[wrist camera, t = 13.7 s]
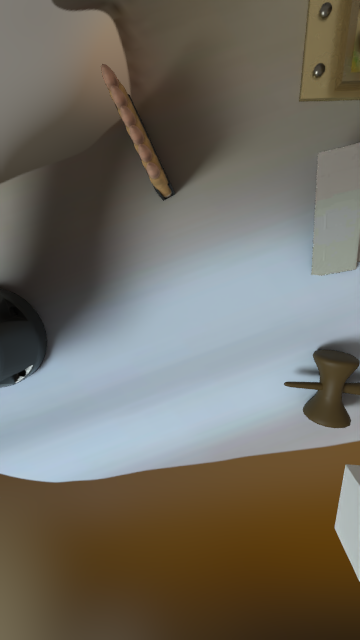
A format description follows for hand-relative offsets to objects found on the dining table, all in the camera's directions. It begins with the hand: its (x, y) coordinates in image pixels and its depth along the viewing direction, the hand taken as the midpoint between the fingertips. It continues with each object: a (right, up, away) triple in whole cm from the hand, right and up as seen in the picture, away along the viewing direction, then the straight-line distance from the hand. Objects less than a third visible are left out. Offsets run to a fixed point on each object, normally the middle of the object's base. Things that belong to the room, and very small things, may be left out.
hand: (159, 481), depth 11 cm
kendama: (+25, -3, +32) cm, 41 cm away
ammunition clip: (-3, +27, +27) cm, 38 cm away
